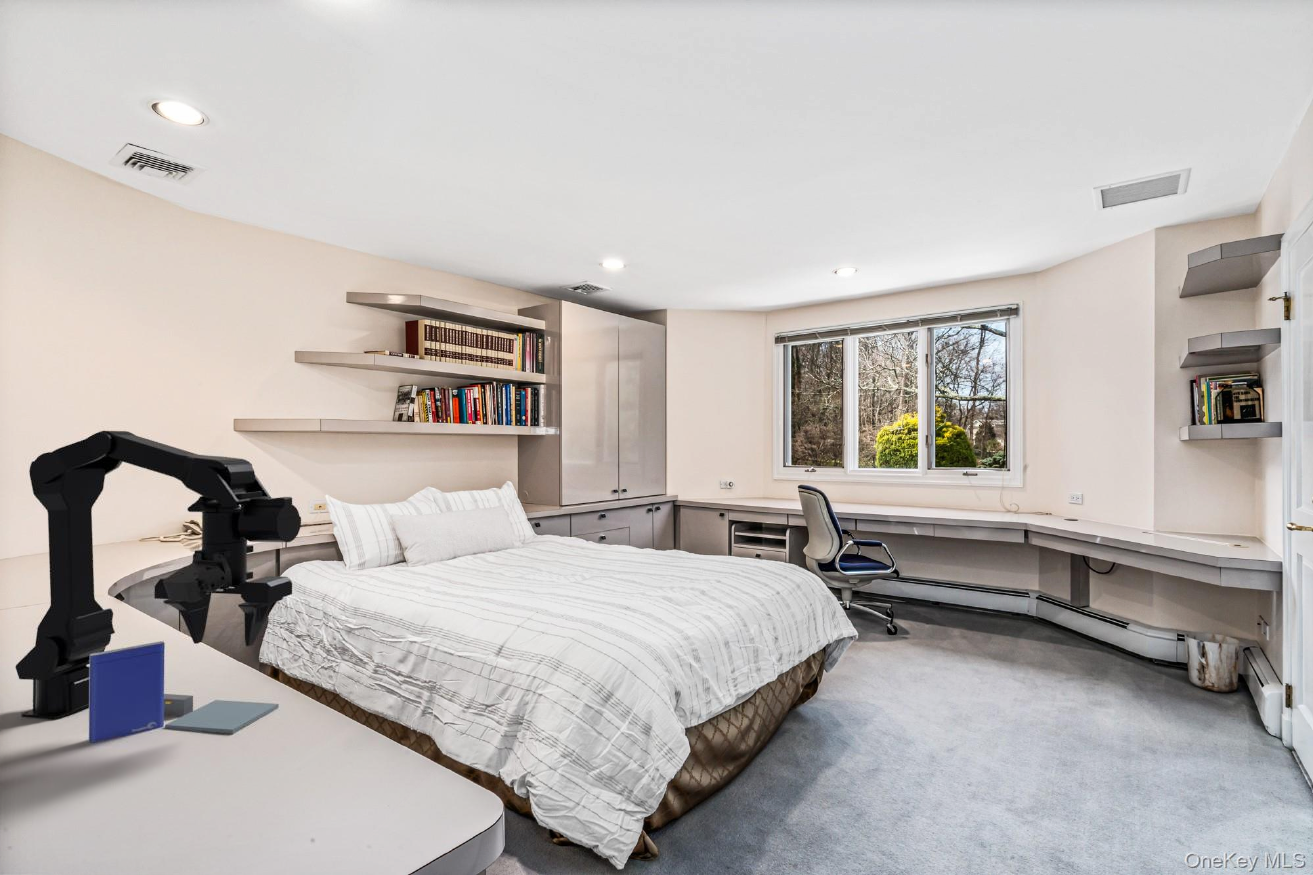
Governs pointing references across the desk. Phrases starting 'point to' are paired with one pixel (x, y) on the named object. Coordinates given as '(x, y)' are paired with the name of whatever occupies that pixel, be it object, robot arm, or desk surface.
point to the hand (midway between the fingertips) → (223, 644)
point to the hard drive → (126, 691)
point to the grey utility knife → (177, 704)
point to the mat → (223, 716)
